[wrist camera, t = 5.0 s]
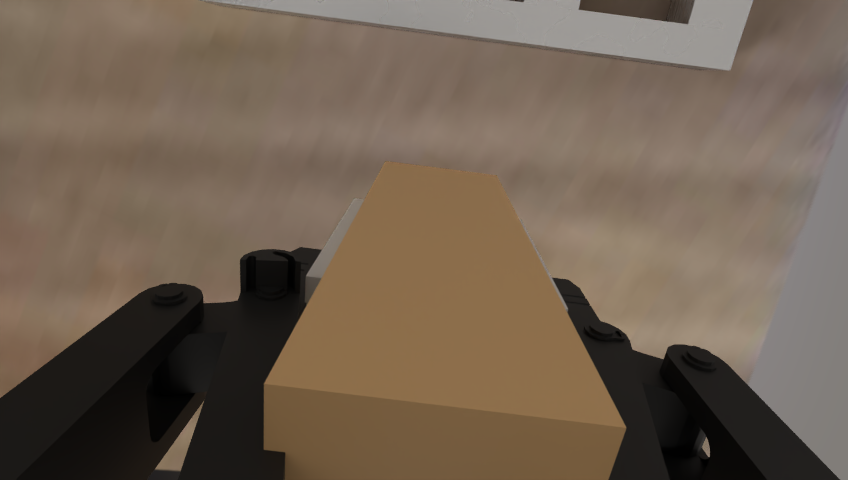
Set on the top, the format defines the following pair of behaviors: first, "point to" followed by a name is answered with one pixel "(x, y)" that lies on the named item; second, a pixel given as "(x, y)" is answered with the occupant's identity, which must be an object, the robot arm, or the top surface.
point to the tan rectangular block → (438, 349)
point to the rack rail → (547, 25)
